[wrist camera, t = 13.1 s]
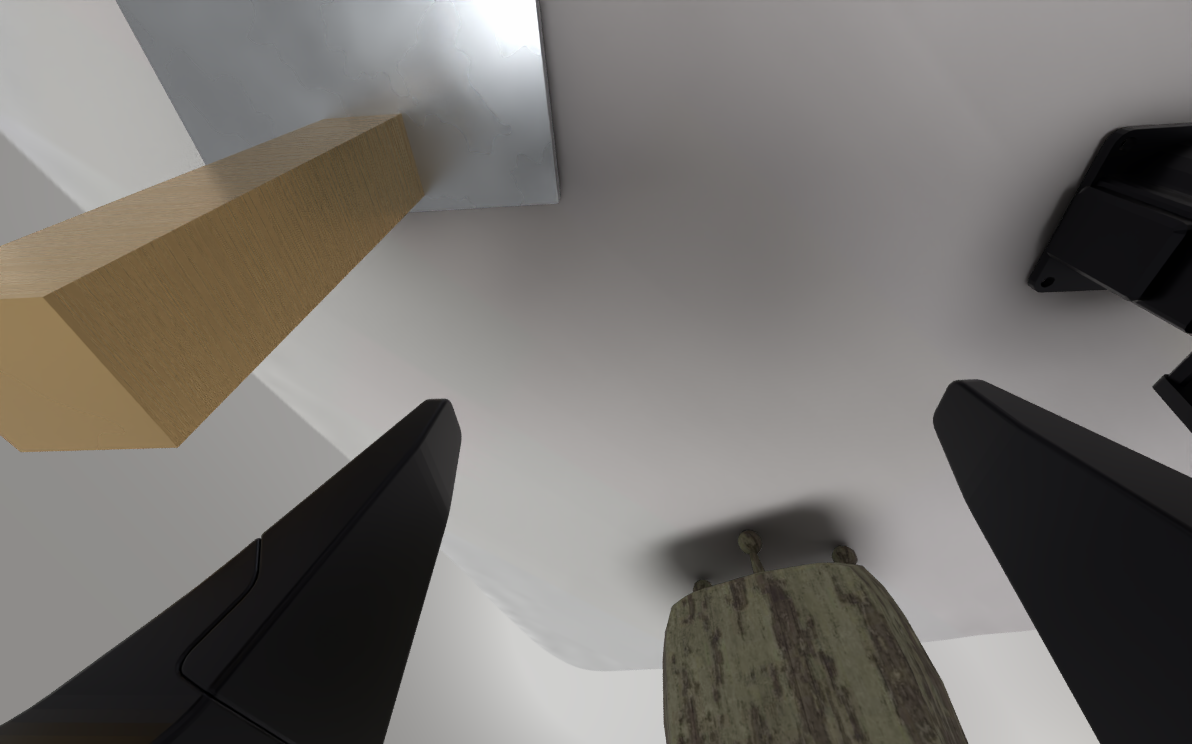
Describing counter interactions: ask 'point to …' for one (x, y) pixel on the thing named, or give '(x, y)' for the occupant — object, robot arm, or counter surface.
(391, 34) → the grey plate wooden post
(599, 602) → the counter surface
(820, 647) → the tabletop clock
